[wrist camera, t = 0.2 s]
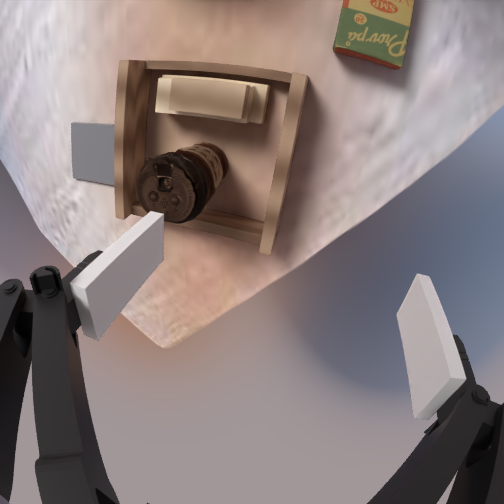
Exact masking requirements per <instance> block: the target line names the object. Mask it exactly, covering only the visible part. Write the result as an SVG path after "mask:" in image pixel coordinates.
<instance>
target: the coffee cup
mask: <svg viewBox="0 0 504 504" xmlns="http://www.w3.org/2000/svg"><path fill="white" fill-rule="evenodd" d="M227 168H228V162H227V159H226V156H225V155H224V153H223V151H222V150H221V149H220V148H218V147H217V146H215V145H213V144H210V143H205V142H202V143H196V144H194V145H193V146H191V147H187V148H181V149H178V150H177V151H176V152H168V153H166V154H163V155H160V156H157V157H155V158H153V159H151V158H149V159H148V160H147V161H146V163H145V164H144V165H143V167H141V170H140V172H139V174H138V178H137V180H136V182H135V186H136V187H135V189H136V194H137V198H138V200H139V203H140V205H141V206H142V208H143V209H144V210H145V211H146V212H147V213H149V212H150V211H153V212H157V213H162V214H164V222H170V223H175V224H182V223H185V222H187V221H191V220H194V219H195V218H196V217H197V216H198V215H199V214H200V213H201V212H202V211H203V209H204V207H205V205H206V203H207V202H208V201H209V200H210V198H211V197H212V195H213V194H214V192H215V191H216V189H217V188H218V187H219V185H220V184H221V182H222V179H224V177H225V175H226V173H227Z"/></svg>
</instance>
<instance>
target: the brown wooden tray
mask: <svg viewBox="0 0 504 504" xmlns="http://www.w3.org/2000/svg"><path fill="white" fill-rule="evenodd" d="M151 69H172V70H192V71H206V72H218V73H227V74H236V75H244V76H252V77H259V78H265V79H272V80H278V81H283V82H289V83H291V84H290V89H289V95H288V100H287V105H286V111H285V116H284V122H283V127H282V133H281V138H280V143H279V149H278V154H277V159H276V165H275V170H274V175H273V181H272V186H271V191H270V197H269V202H268V207H267V212H266V218H265V222H262V221H258V220H254V219H249V218H245V217H241V216H236V215H232V214H228V213H223V212H219V211H214V210H210V209H205V208H204V209H203V211H202V212H201V213H200V214H199V215H198V216H197V217H196V218H195V219H194V220H191V221H187V222H185V223H182V224H175V223H171V224H175V225H179V226H184V227H188V228H192V229H196V230H200V231H205V232H209V233H213V234H217V235H221V236H225V237H230V238H234V239H238V240H242V241H246V242H250V243H254V244H258V245H260V249H259V253H262V254H266V255H270V254H271V251H272V248H273V245H274V242H275V239H276V236H277V232H278V227H279V223H280V218H281V213H282V209H283V204H284V199H285V194H286V190H287V185H288V180H289V175H290V170H291V166H292V161H293V156H294V151H295V146H296V141H297V136H298V131H299V126H300V121H301V116H302V111H303V106H304V100H305V95H306V90H307V85H308V79H309V77H308V76H307V75H304V74H299V73H287V72H281V71H275V70H269V69H262V68H255V67H247V66H239V65H229V64H219V63H206V62H189V61H139V60H121V61H119V69H118V80H117V93H116V108H115V133H114V185H115V210H116V218H119V219H123V220H124V219H126V218H127V217H128V216H129V215H131V214H133V215H137V216H141V217H144V216H146V215H147V214H148V213H147V212H146V211H145V210H144V209H143V208H142V206H141V205H140V203H139V200H138V198H137V194H136V189H135V187H136V186H135V182H136V180H137V178H138V174H139V172H140V170H141V167H143V165H144V164H145V142H146V125H147V110H148V98H149V87H150V77H151ZM167 223H170V222H167Z"/></svg>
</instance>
